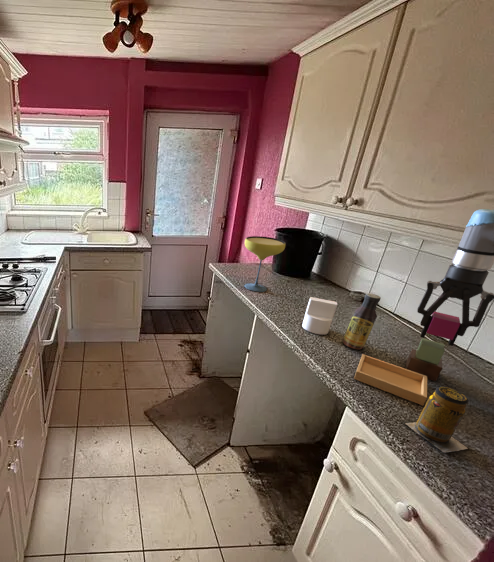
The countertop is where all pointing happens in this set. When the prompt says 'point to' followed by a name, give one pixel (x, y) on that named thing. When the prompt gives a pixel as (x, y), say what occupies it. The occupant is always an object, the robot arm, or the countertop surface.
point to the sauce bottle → (362, 322)
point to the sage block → (430, 351)
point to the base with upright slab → (319, 315)
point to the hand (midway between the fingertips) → (436, 339)
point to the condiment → (441, 419)
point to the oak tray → (392, 379)
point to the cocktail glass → (262, 254)
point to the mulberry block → (443, 325)
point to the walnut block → (423, 366)
